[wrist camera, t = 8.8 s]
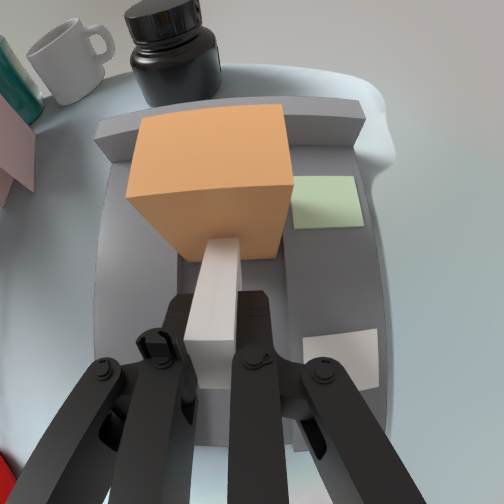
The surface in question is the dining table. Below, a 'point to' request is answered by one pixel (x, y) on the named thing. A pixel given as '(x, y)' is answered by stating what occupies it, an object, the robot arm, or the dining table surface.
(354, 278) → the breaker housing
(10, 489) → the tomato
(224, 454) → the dining table surface
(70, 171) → the dining table surface
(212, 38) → the ink bottle
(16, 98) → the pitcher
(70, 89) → the mug
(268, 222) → the lever
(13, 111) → the greeting card
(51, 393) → the dining table surface
